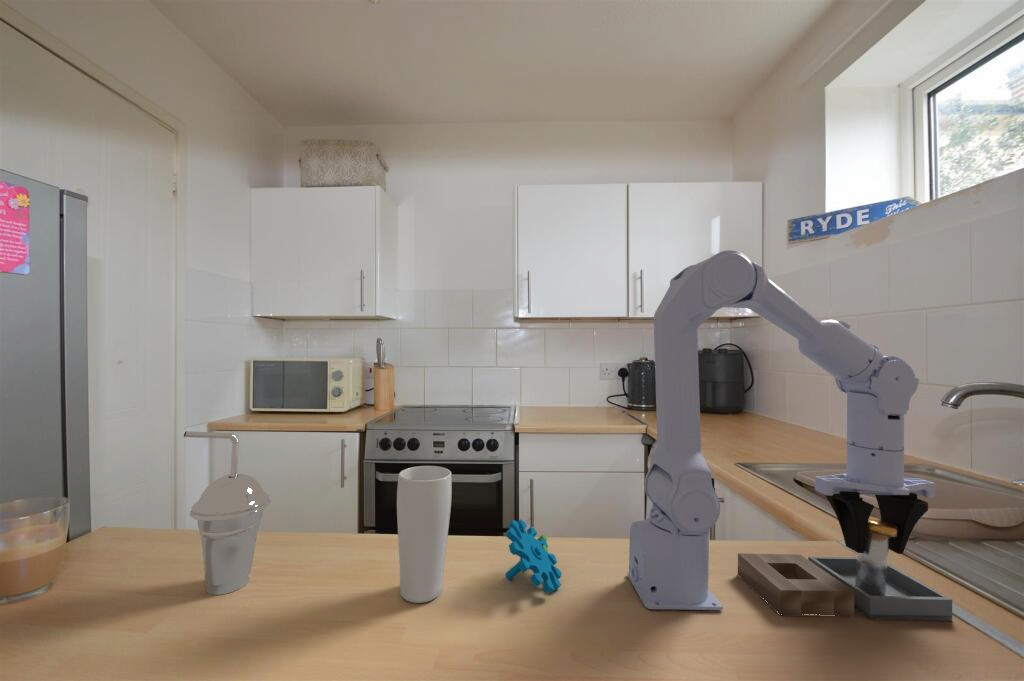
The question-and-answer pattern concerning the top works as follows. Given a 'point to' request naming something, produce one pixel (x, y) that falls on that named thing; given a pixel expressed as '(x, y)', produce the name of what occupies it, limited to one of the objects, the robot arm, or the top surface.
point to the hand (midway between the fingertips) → (873, 549)
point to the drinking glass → (423, 530)
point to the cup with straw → (228, 523)
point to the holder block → (795, 585)
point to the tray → (890, 593)
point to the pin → (875, 557)
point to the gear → (532, 556)
